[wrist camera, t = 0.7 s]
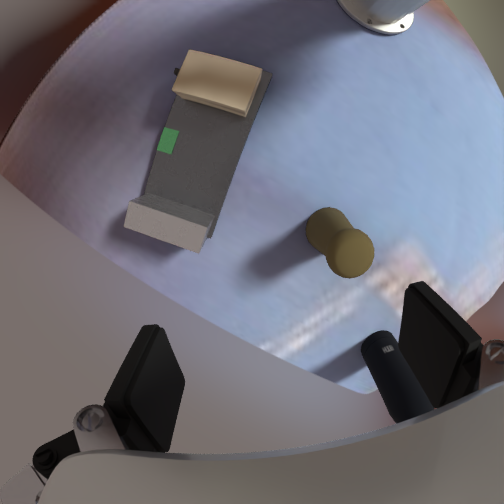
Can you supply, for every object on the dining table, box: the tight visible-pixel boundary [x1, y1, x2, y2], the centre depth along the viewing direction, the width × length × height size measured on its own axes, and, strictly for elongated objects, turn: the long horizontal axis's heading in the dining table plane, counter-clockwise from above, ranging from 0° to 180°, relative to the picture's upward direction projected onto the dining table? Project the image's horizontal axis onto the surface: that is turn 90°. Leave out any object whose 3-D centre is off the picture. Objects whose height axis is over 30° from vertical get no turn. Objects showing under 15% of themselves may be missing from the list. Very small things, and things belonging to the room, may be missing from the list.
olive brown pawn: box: [306, 207, 374, 278], centre depth 31 cm, size 6×6×11 cm
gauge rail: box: [124, 70, 272, 253], centre depth 29 cm, size 22×10×8 cm, turn 160°
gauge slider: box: [172, 49, 262, 117], centre depth 26 cm, size 5×9×5 cm, turn 70°
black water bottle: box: [361, 331, 434, 424], centre depth 29 cm, size 6×6×30 cm
